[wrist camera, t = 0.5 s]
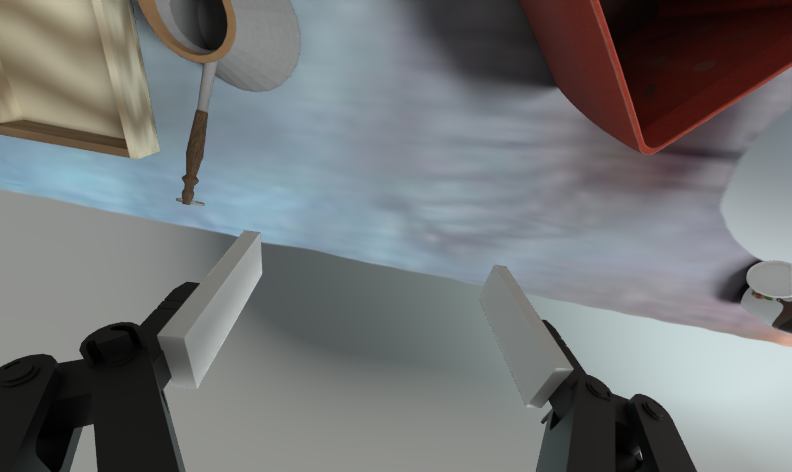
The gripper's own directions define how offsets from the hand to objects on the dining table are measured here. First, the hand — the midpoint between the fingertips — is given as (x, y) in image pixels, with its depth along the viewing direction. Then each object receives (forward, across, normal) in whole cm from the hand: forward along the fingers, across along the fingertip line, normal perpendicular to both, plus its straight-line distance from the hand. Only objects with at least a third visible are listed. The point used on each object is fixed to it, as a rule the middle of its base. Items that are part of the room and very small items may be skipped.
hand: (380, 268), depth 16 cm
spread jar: (+27, +79, -11) cm, 85 cm away
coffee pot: (+27, -16, +5) cm, 32 cm away
